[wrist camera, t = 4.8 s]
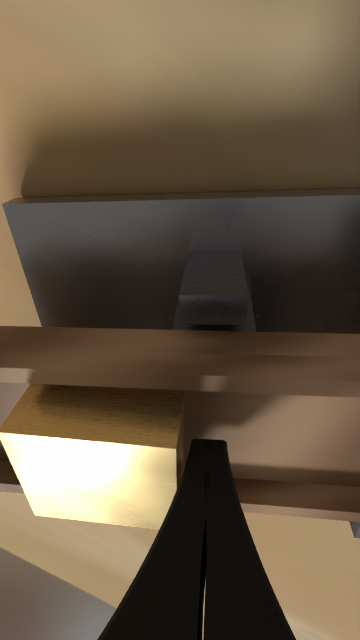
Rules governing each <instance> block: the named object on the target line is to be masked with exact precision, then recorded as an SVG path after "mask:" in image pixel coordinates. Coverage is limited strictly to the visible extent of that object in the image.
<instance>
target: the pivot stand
mask: <svg viewBox="0 0 360 640" xmlns="http://www.w3.org/2000/svg"><path fill="white" fill-rule="evenodd" d="M2 205H3V208H4V211H5V214H6V217H7V221H8V224H9V227H10V230H11V233H12V236H13V239H14V242H15V245H16V248H17V251H18V254H19V257H20V261H21V264H22V267H23V270H24V273H25V276H26V279H27V282H28V285H29V288H30V291H31V294H32V297H33V300H34V304H35V307H36V310H37V313H38V316H39V319H40V322H41V325H42V327H66V328H111V329H156V330H201V331H246V332H291V333H336V334H360V188H354V189H318V190H282V191H246V192H211V193H175V194H139V195H104V196H68V197H32V198H15V199H12V200H10V201H8V202H6V203H4V204H2Z"/></svg>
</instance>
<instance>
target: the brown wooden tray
mask: <svg viewBox="0 0 360 640" xmlns="http://www.w3.org/2000/svg"><path fill="white" fill-rule="evenodd" d="M30 384H53V385H75V386H98V387H121V388H144V389H167V390H185V465H186V461H187V458H188V454H189V450H190V445H191V440H193V439H195V438H197V439H214V440H224V441H226V442H227V449H228V456H229V462H230V467H231V471H232V475H233V479H234V483H235V487H236V491H237V494H238V497H239V501H240V504H241V507H242V510H243V512H249V513H261V514H273V515H284V516H296V517H308V518H320V519H331V520H343V521H349V522H350V525H351V528H352V531H353V535H354V538H360V334H336V333H291V332H246V331H201V330H156V329H111V328H66V327H21V326H0V427H1V426H2V424H3V423H4V421H5V420H6V419H7V417H8V416H9V414H10V413H11V411H12V410H13V408H14V407H15V406H16V404H17V403H18V401H19V400H20V398H21V397H22V395H23V394H24V392H25V391H26V390H27V388H28V387H29V385H30ZM185 465H184V468H185ZM0 491H2V492H14V493H25V492H24V490H23V488H22V486H21V484H20V481H19V479H18V477H17V475H16V473H15V470H14V468H13V466H12V464H11V462H10V460H9V457H8V455H7V453H6V451H5V449H4V446H3V444H2V442H1V440H0Z"/></svg>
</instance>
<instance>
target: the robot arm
mask: <svg viewBox="0 0 360 640" xmlns="http://www.w3.org/2000/svg"><path fill="white" fill-rule="evenodd" d="M205 580H206V589H205ZM204 589H205V615H204V640H296V638H295V636H294V634H293V632H292V630H291V628H290V626H289V624H288V622H287V620H286V618H285V616H284V613H283V611H282V609H281V607H280V605H279V602H278V600H277V598H276V596H275V593H274V591H273V589H272V586H271V584H270V582H269V579H268V577H267V575H266V572H265V570H264V568H263V565H262V563H261V560H260V558H259V555H258V552H257V550H256V547H255V544H254V542H253V539H252V536H251V534H250V531H249V528H248V525H247V522H246V519H245V517H244V513H243V510H242V507H241V504H240V501H239V497H238V494H237V491H236V487H235V483H234V479H233V475H232V471H231V467H230V462H229V456H228V449H227V442H226V441H224V440H214V439H197V438H195V439H193V440H191V445H190V450H189V454H188V458H187V461H186V465H185V468H184V471H183V474H182V477H181V480H180V482H179V485H178V487H177V490H176V493H175V495H174V498H173V500H172V503H171V505H170V507H169V510H168V512H167V514H166V516H165V519H164V521H163V523H162V525H161V527H160V530H159V532H158V534H157V536H156V538H155V540H154V542H153V544H152V546H151V548H150V550H149V552H148V554H147V556H146V558H145V560H144V562H143V564H142V565H141V567H140V569H139V571H138V573H137V575H136V577H135V578H134V580H133V582H132V584H131V585H130V587H129V589H128V591H127V592H126V594H125V596H124V597H123V599H122V601H121V603H120V604H119V606H118V608H117V609H116V611H115V613H114V614H113V616H112V618H111V619H110V621H109V622H108V624H107V626H106V627H105V629H104V630H103V632H102V633H101V635H100V636H99V638H98V639H97V640H202V625H203V603H204Z"/></svg>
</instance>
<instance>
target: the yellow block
mask: <svg viewBox="0 0 360 640" xmlns="http://www.w3.org/2000/svg"><path fill="white" fill-rule="evenodd" d="M0 440H1V442H2V444H3V446H4V449H5V451H6V453H7V455H8V457H9V460H10V462H11V464H12V466H13V468H14V470H15V473H16V475H17V477H18V479H19V481H20V484H21V486H22V488H23V490H24V492H25V495H26V497H27V499H28V501H29V503H30V506H31V508H32V510H33V512H34V514H35V515H37V516H46V517H55V518H63V519H72V520H80V521H89V522H97V523H106V524H115V525H123V526H132V527H140V528H149V529H157V530H160V527H161V525H162V523H163V521H164V519H165V516H166V514H167V512H168V510H169V507H170V505H171V503H172V500H173V498H174V495H175V493H176V490H177V487H178V485H179V482H180V480H181V477H182V474H183V471H184V465H185V390H167V389H144V388H121V387H98V386H75V385H53V384H30V385H29V387H28V388H27V390H26V391H25V392H24V394H23V395H22V397H21V398H20V400H19V401H18V403H17V404H16V406H15V407H14V408H13V410H12V411H11V413H10V414H9V416H8V417H7V419H6V420H5V421H4V423H3V424H2V426H1V427H0Z"/></svg>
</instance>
